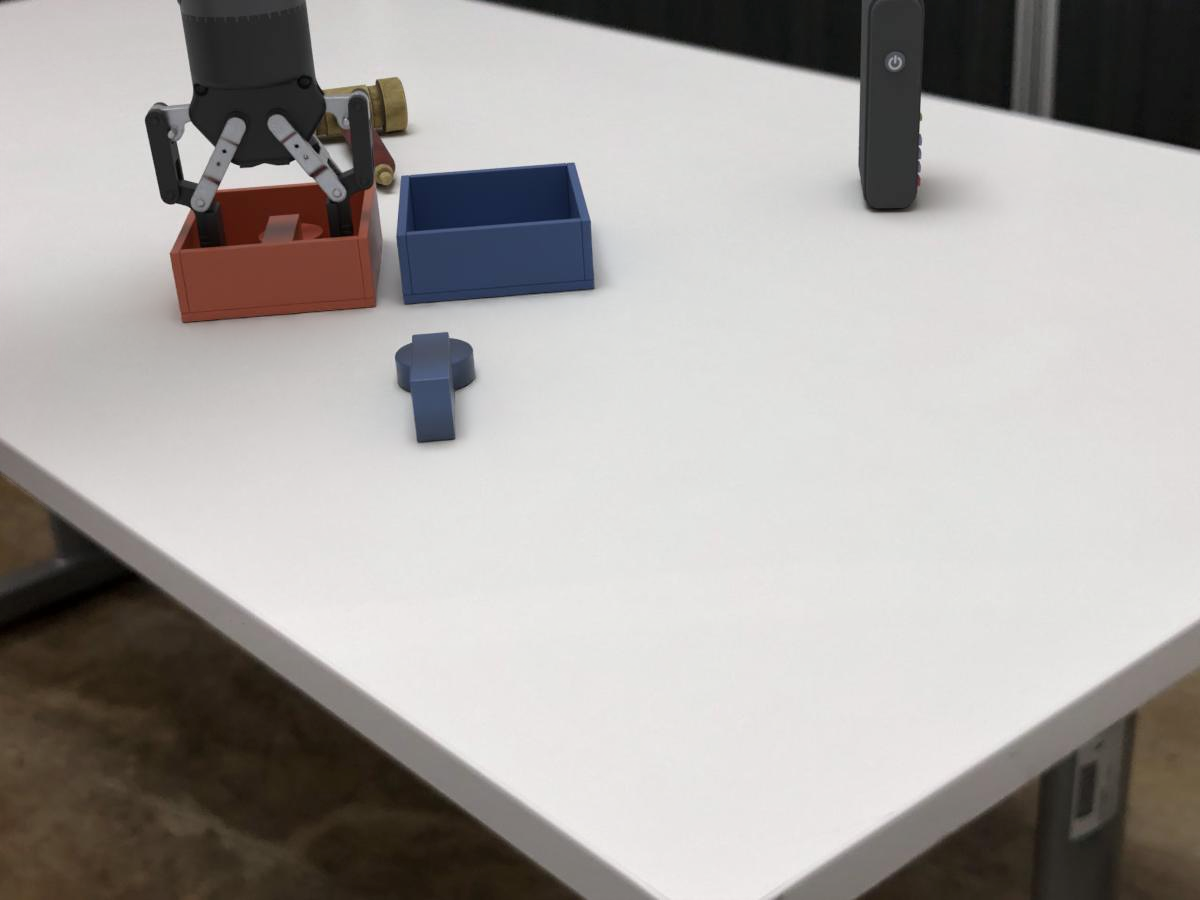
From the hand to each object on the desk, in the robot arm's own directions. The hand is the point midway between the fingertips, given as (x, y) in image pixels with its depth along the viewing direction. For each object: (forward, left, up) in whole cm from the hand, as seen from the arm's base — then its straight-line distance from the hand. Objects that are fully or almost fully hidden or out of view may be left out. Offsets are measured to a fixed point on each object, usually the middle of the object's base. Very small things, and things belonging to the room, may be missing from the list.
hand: (280, 257), depth 102 cm
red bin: (0, +2, -2) cm, 3 cm away
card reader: (+43, +10, -2) cm, 44 cm away
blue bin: (+14, +2, -2) cm, 14 cm away
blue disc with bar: (+10, -20, -2) cm, 22 cm away
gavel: (+4, +30, -2) cm, 30 cm away
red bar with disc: (0, +2, -2) cm, 2 cm away
